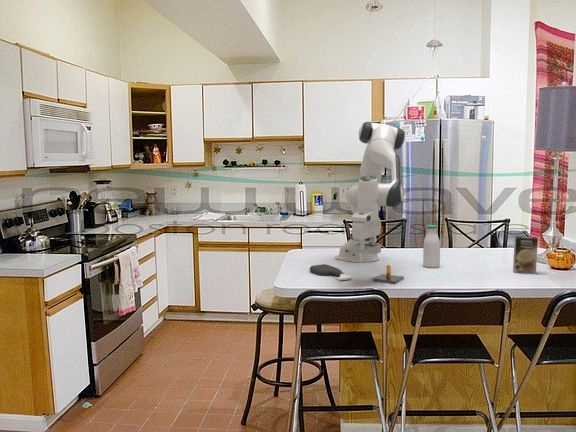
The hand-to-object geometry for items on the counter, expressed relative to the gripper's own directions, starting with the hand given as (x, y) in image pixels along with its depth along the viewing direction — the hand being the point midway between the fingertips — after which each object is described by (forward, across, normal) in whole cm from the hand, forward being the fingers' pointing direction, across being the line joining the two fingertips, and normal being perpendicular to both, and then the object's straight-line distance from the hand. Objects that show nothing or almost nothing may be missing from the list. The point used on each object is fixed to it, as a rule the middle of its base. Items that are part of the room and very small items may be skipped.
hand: (367, 248), depth 217 cm
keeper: (+15, -8, +6) cm, 18 cm away
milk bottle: (+15, -45, +12) cm, 49 cm away
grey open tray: (+2, 0, 0) cm, 2 cm away
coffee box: (+14, -55, +52) cm, 77 cm away
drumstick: (+16, -4, -19) cm, 25 cm away
